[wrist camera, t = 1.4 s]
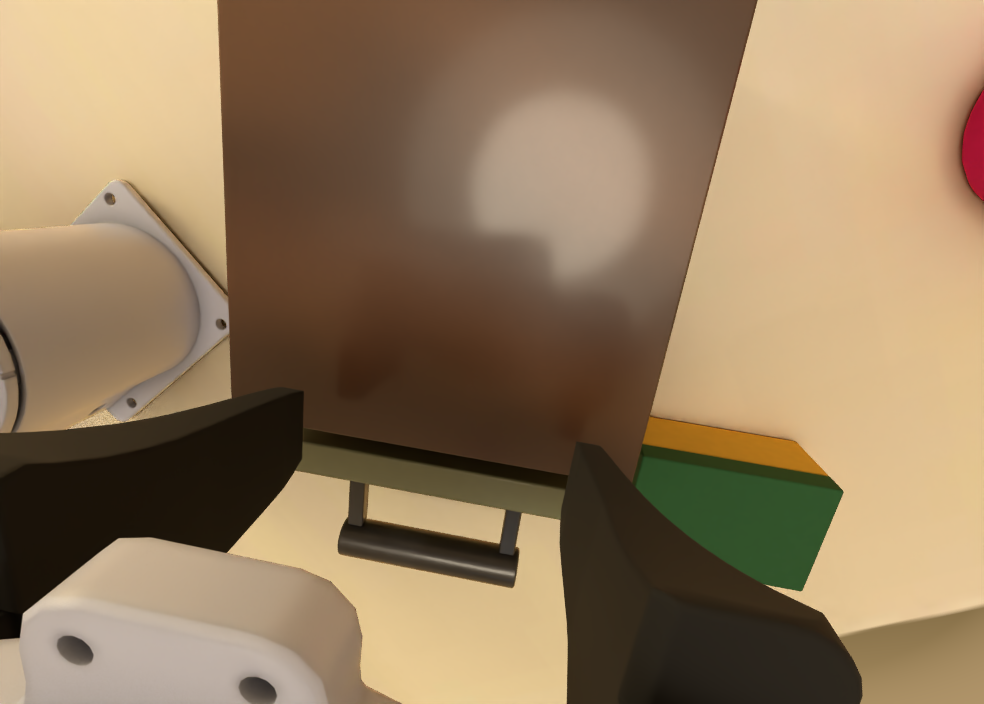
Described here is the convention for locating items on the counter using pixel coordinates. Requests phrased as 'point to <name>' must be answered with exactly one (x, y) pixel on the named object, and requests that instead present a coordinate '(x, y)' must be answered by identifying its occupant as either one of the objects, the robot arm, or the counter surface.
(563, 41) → the cabinet
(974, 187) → the pepper mill
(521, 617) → the counter surface
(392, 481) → the drawer
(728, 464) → the sponge
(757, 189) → the counter surface
